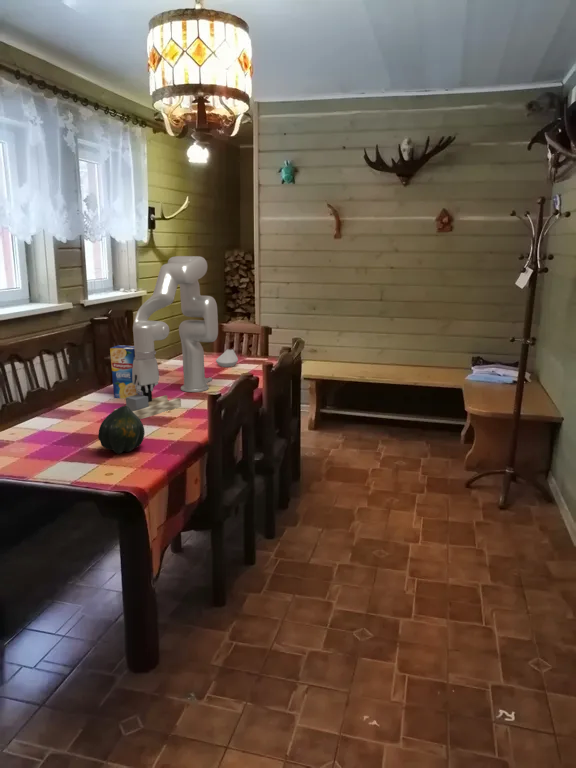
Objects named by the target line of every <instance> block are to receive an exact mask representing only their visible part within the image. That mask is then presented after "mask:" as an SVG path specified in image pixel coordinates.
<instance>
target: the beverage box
mask: <svg viewBox="0 0 576 768" xmlns="http://www.w3.org/2000/svg"><path fill="white" fill-rule="evenodd" d="M109 351H110V352H109V353H110V364H111V376H112V387H113V398H114V399H122V400H123V399H124V400H126V397H130V396H133V395H137V394H139V395H143V392H142V391H141V390H140V389H135V385H134V384H133V380H132V368H133V361H134V360H135V349H134V345H124V344H123V345H120V344H118V345H115V346H112V347H109Z"/></svg>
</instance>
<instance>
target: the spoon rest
mask: <svg viewBox="0 0 576 768" xmlns="http://www.w3.org/2000/svg"><path fill="white" fill-rule="evenodd" d="M238 361H239V358H238V356H237V354H236V352H235V349H228V348H226V350H224V352H223V353H222V354H220V355H219V356H218V357H217V358H216V359H215V362H216V364H217V365H218V366H220V367H222V368H232V367H234V366H235V365H237V363H238ZM231 366H232V367H231Z"/></svg>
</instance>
